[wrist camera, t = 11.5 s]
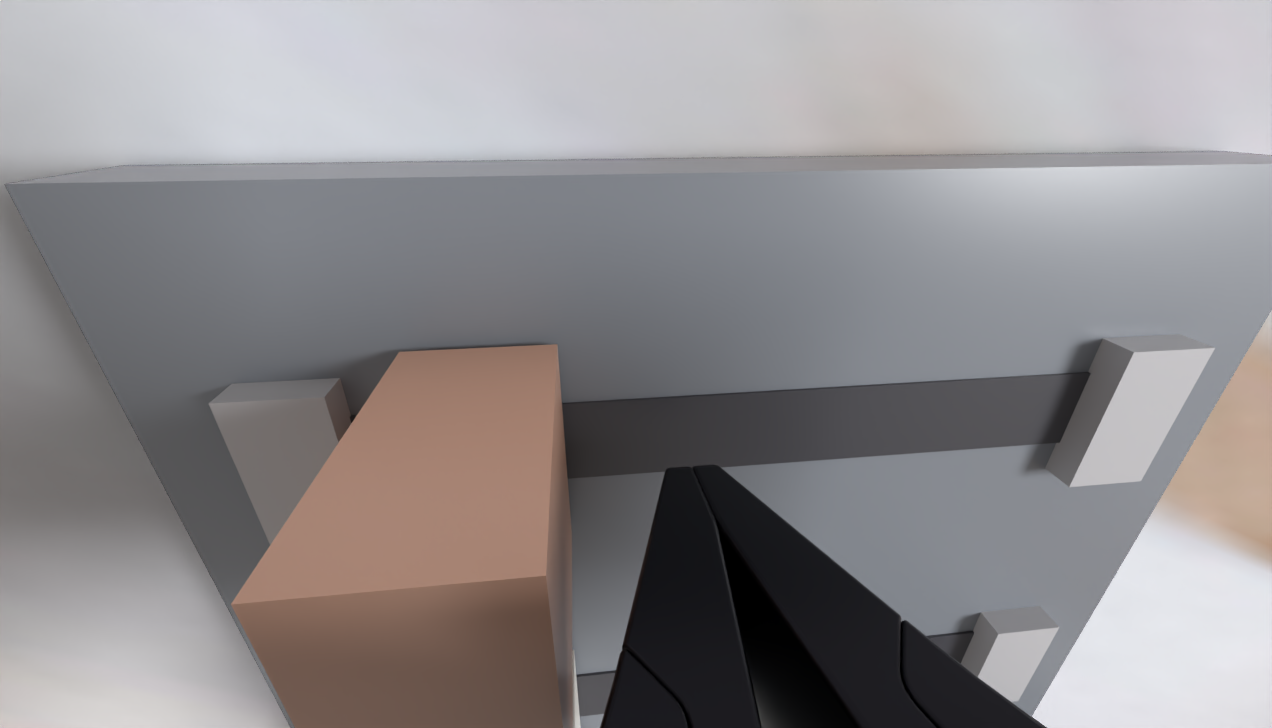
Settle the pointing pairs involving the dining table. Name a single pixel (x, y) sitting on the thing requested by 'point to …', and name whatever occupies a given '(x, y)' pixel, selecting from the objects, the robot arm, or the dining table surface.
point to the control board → (706, 351)
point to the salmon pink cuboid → (429, 556)
